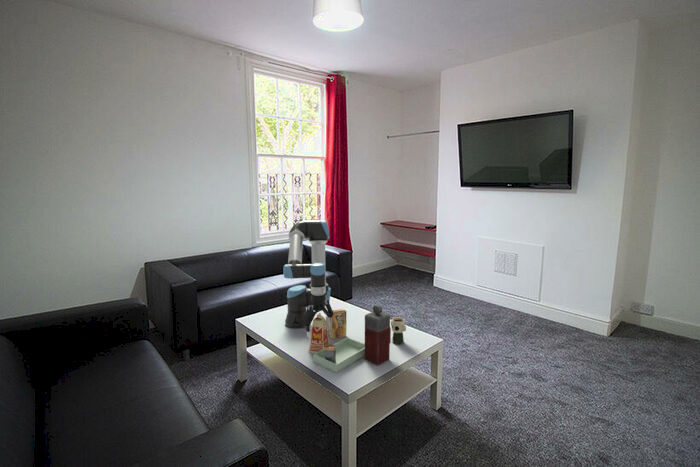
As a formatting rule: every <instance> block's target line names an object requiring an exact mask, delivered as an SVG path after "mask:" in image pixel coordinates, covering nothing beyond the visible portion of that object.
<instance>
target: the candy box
mask: <svg viewBox="0 0 700 467" xmlns="http://www.w3.org/2000/svg"><path fill="white" fill-rule="evenodd" d="M332 310H333V309H332ZM333 313H334V315H332V316H333V317H332V318H331V323H330V330H329V337H330V338H331V339H332V340H333V339H338V338H343V337H347V310H346V309H344V308H340V309H335V310H333Z"/></svg>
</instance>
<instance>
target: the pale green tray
mask: <svg viewBox="0 0 700 467" xmlns="http://www.w3.org/2000/svg"><path fill="white" fill-rule="evenodd" d="M332 345H335V346H336V364H335V363H333V362H330V361H328V360H326V359H325V349H323V350H321V351H319V352H317V353H312V354H313V357H312V358H313V363H315V364H317V365H319V366H321V367H323V368H325V369H327V370H329V371H330V372H333V373H334V374H338V373H339V372H340V371H342V370H344V369H346V368H347V367H348V366H350V365H352V364H354V363H355V362H357V361H359V360H361V359H362V358H363V357H364V358H365V342H361V341H359V340H356V339H353V338H351V337H348V336H346V337H345V338H343V339H341V340H339V341H337V342H334V343H333V344H332Z"/></svg>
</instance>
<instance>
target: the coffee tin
mask: <svg viewBox="0 0 700 467" xmlns="http://www.w3.org/2000/svg"><path fill="white" fill-rule="evenodd" d="M324 349H325V359H326V360H328V361H330V362H333V363H335V364H336V346H335V345H333V344H330V343H329V345H326V346H325V347H324Z"/></svg>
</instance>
